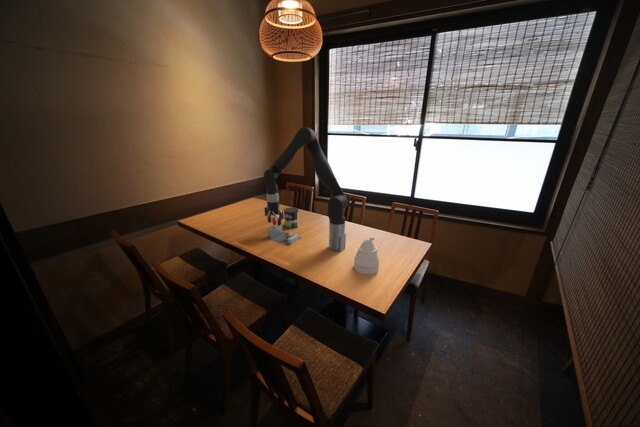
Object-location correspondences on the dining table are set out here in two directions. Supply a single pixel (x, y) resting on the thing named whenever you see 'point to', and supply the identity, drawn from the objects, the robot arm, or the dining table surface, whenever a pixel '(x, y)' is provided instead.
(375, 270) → the honey pot
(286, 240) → the nutcracker bench
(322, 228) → the dining table surface
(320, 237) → the dining table surface
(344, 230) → the robot arm
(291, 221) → the coffee can
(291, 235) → the tan ball
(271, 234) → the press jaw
